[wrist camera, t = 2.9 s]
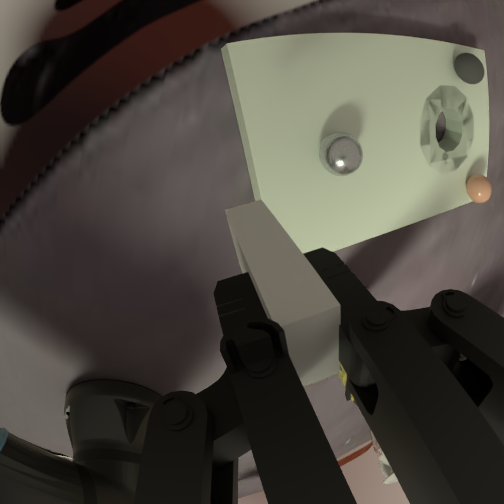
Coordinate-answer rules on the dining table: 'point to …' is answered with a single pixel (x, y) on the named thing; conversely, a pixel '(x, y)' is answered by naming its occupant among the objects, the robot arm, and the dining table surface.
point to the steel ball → (340, 153)
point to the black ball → (469, 68)
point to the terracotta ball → (478, 188)
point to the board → (356, 130)
